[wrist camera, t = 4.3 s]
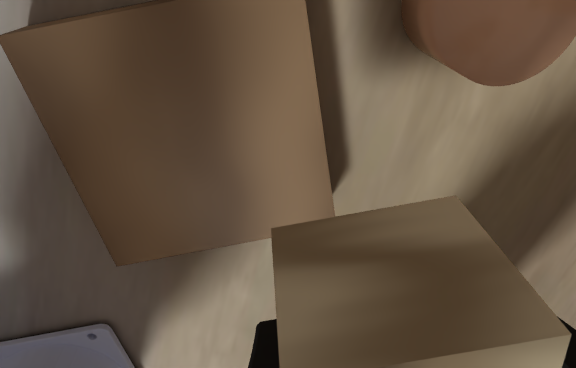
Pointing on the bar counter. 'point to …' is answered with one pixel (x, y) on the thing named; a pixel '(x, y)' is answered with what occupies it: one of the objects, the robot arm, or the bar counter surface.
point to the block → (407, 294)
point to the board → (182, 120)
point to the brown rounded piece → (491, 35)
